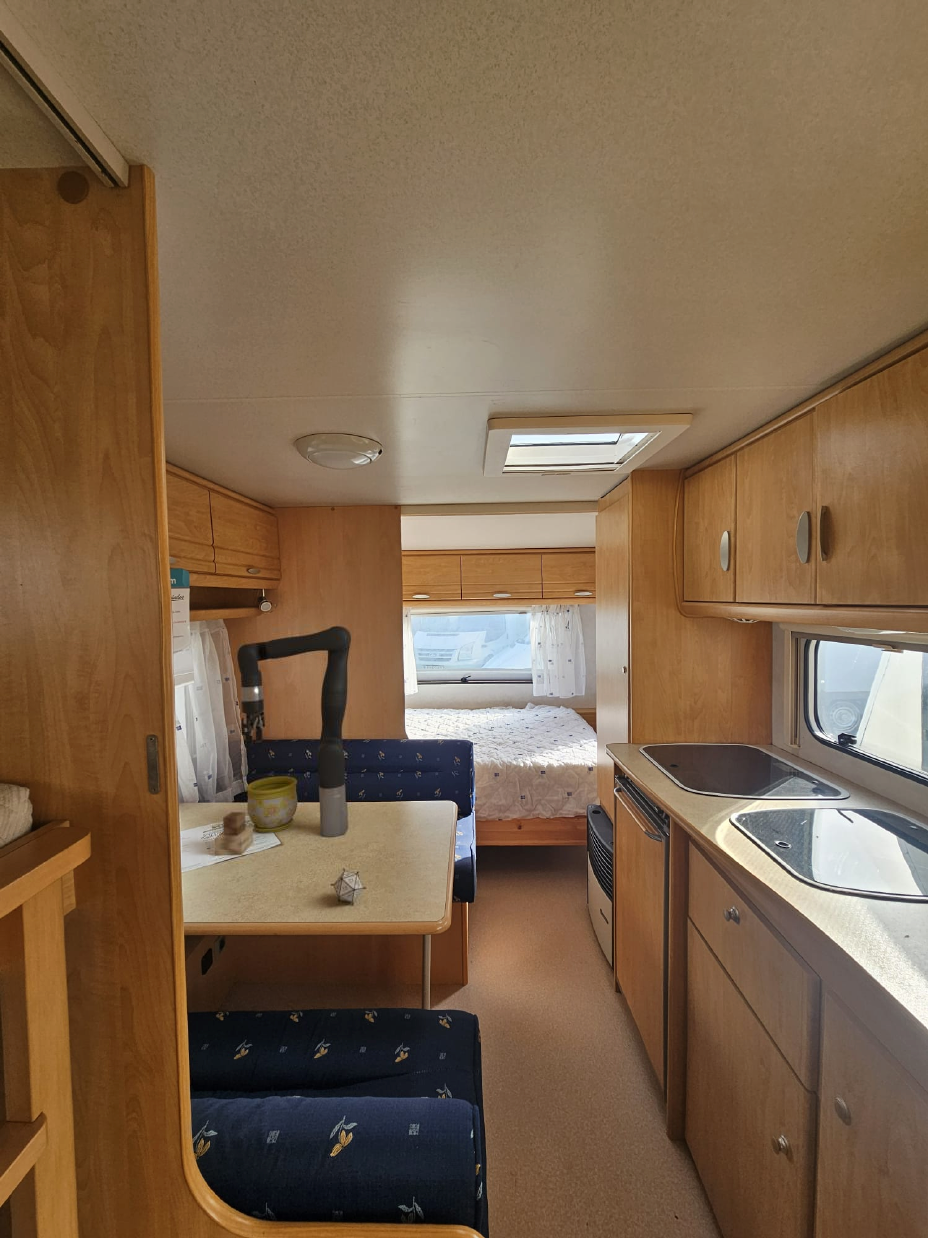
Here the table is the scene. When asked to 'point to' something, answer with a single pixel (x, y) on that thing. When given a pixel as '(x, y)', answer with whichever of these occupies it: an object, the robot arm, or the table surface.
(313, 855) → the table surface
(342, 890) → the game die
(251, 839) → the oak box
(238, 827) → the walnut block
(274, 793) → the flowerpot
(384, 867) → the table surface
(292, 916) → the table surface
